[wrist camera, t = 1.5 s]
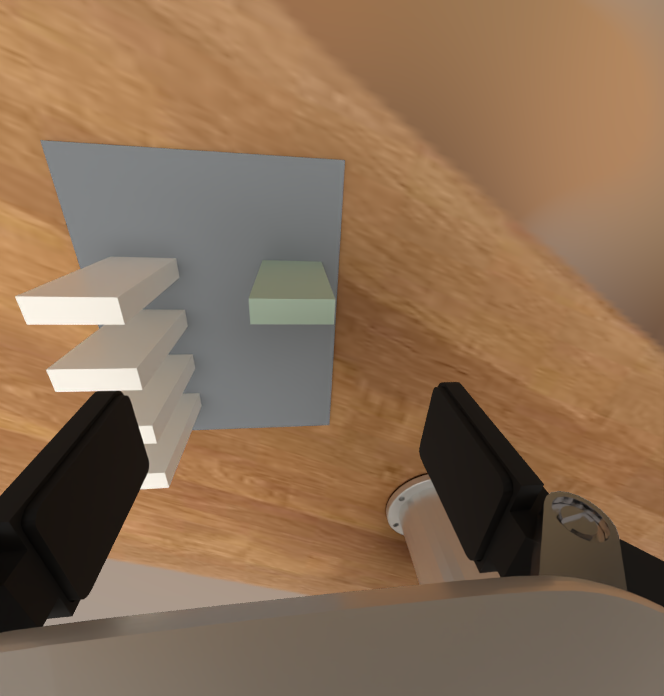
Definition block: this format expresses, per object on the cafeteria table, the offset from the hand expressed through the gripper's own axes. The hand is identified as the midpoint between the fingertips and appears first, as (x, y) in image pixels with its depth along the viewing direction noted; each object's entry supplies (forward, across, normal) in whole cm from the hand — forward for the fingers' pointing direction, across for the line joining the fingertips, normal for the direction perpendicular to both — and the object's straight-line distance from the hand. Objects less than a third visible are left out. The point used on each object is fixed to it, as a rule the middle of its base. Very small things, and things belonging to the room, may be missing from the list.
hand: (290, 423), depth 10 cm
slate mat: (+20, +6, +5) cm, 22 cm away
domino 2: (+20, +12, +5) cm, 24 cm away
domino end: (+20, 0, 0) cm, 20 cm away
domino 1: (+20, +12, 0) cm, 23 cm away
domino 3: (+20, +12, +9) cm, 25 cm away
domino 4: (+20, +12, +14) cm, 27 cm away
